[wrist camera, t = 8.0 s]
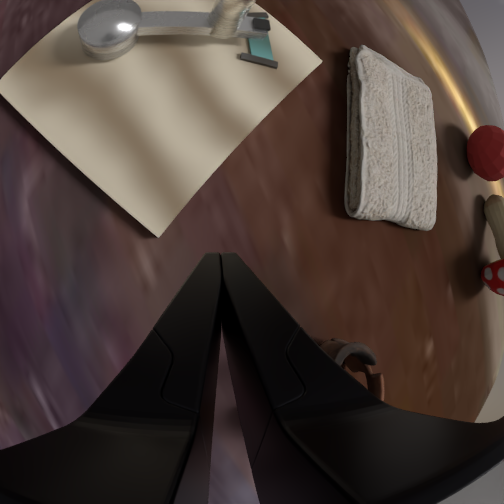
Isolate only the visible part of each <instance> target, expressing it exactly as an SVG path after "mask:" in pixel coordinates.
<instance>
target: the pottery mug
mask: <svg viewBox="0 0 504 504" xmlns="http://www.w3.org/2000/svg"><path fill="white" fill-rule="evenodd" d="M320 347H321V349H322V350H323V351H325V352H326V353H327V354H328V355H329V356H330V357H331V358H332V359H333V360H334V361H335V362H336V363H338V364H339V365H340V366H341V364H342V363H343V361H344V362H345V364H346V365H347V367H348V368H349V369H350V370H351V371H352V372H358V371H361V372H364V373H365V374H366V378H367V385H368V390H369V391H370V392H371V393H372V394H374V395H375V396H376V397H378V398H379V399H380V400H382V401H383V400H384V379H383V375H382V373H377V374H373V373H372V370H371V367H370V365H376V364H377V361H376V356H375V354H374V353H373V351H372V350H371V349H370V348H368V347H367V346H366V345H365V344H363V343H360V342H354V343H348V342H347V341H344V340H342V339H335V338H333V339H331V340H327V341H325V342H324V343H322V345H321V346H320Z"/></svg>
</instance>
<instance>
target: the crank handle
mask: <svg viewBox="0 0 504 504" xmlns="http://www.w3.org/2000/svg"><path fill="white" fill-rule="evenodd" d="M255 1H256V0H215V2H214V4H213V6H212V8H211V11H210V13H209V12H190V11H151V12H141V8H140V6H139V5H138V4H137V3H136V2H134V1H133V0H101V1H99V2H96V3H94V4H93V5H91V6H90V7H88V8H87V9H86V10H85V11H84V12H83V13H82V15H81V16H80V18H79V20H78V24H77V28H78V33H79V38H80V42H81V47H82V50H83V52H84V53H85V54H86V55H87V56H88V57H90V58H92V59H96V60H111V59H115V58H118V57H120V56H122V55H124V54H126V53H127V52H129V51H130V50H131V49H132V48H133V47H134V46H135V45H136V43H137V42H138V40H139V36H142V35H210V36H213V37H216V38H220V39H227V38H230V37H236V38H246V39H254V40H262V41H263V39H264V38H265V37H266V36H267V34H268V32H267V31H270V30H271V27H270V21H269V20H267V19H262V18H255V17H248V16H246V15H247V14H248V12H249V11H250V9H251V8H252V6H253V5H254V3H255Z"/></svg>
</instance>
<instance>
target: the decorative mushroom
mask: <svg viewBox="0 0 504 504" xmlns="http://www.w3.org/2000/svg"><path fill="white" fill-rule="evenodd" d="M484 213H485V216H486V219H487V221H488V223H489V225H490V228H491V230H492V232H493V235H494V237H495V242H496V247H497V250H498V253H499V255H500V258H501V259H500V260H497V261H495V262H492V263H490V264H488V265H486V266H484V267H483V269H482V271H481V278H482V280H483V282H484V284H485V285H486V286H487V287H488V288H489V289H490V290H491V291H493V292H495V293H496V294H499V295H502V296H504V198H503V197H502V196H499V195H491V196H489V198H488V199H487V201H486V202H485V204H484Z"/></svg>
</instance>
